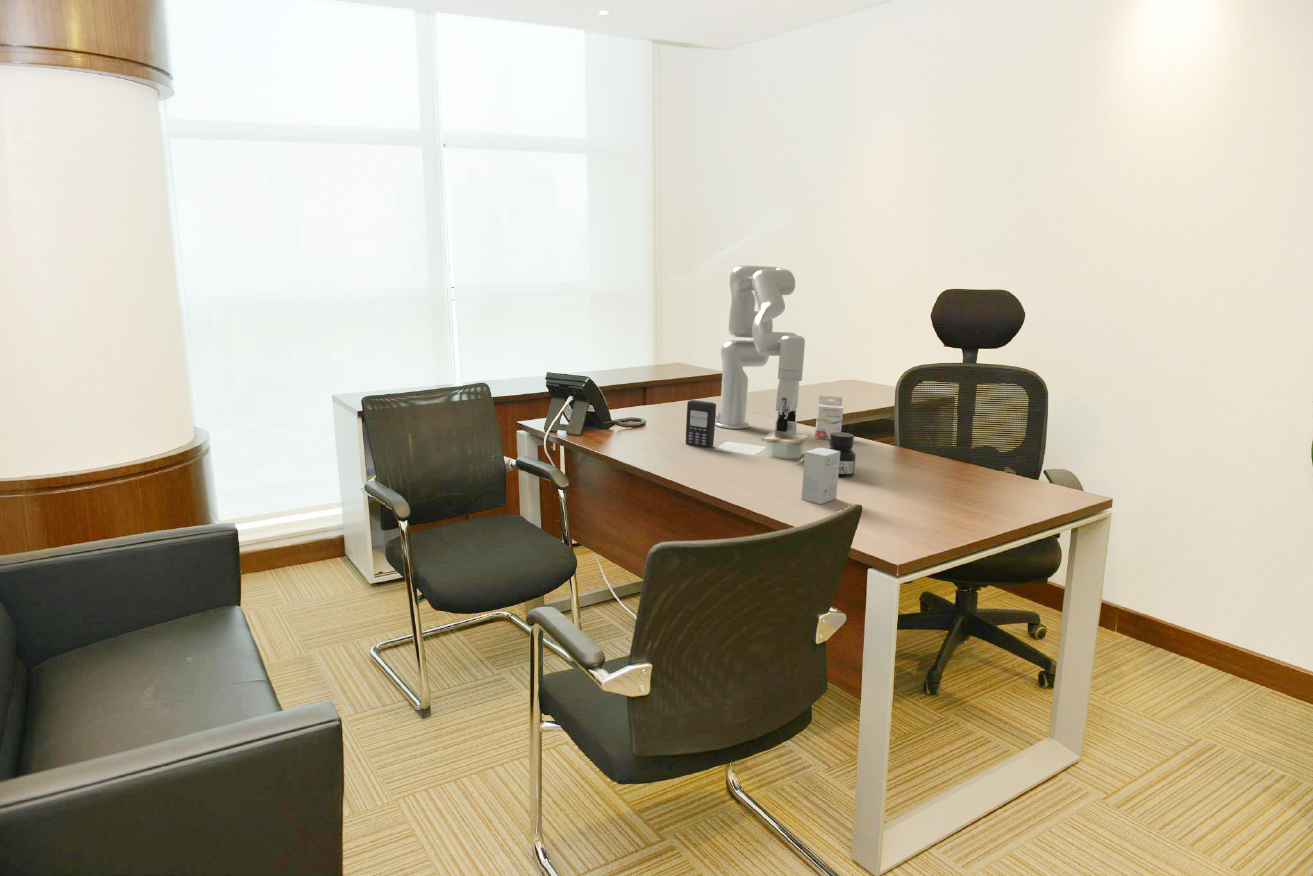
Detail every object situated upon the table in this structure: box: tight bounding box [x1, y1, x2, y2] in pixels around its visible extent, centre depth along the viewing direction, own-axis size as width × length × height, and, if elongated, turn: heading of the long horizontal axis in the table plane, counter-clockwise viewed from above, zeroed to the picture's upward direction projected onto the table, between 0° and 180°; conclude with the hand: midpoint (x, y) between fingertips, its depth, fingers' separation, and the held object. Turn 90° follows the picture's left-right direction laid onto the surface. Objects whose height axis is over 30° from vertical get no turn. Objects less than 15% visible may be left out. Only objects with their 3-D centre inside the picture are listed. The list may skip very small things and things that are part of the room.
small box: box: [801, 447, 840, 505], centre depth 225 cm, size 8×6×13 cm
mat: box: [712, 441, 766, 456], centre depth 280 cm, size 14×14×1 cm
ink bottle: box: [828, 431, 857, 478], centre depth 252 cm, size 10×9×12 cm
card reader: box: [685, 399, 717, 449], centre depth 279 cm, size 9×4×15 cm, turn 62°
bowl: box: [764, 442, 805, 459], centre depth 274 cm, size 11×11×5 cm
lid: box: [760, 420, 809, 446], centre depth 272 cm, size 12×12×6 cm
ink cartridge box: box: [814, 395, 844, 439], centre depth 303 cm, size 9×5×15 cm, turn 84°
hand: (785, 428), depth 272 cm, fingers open, 9 cm apart
